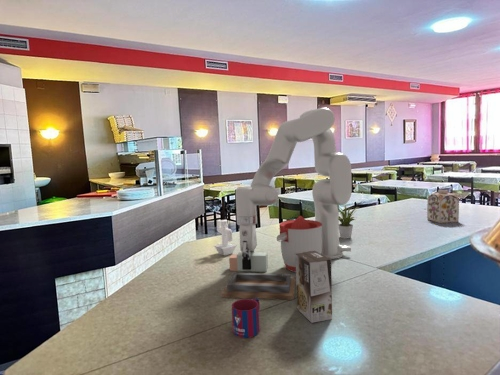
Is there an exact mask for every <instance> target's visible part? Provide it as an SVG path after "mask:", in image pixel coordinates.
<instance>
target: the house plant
mask: <svg viewBox="0 0 500 375" xmlns="http://www.w3.org/2000/svg"><path fill="white" fill-rule="evenodd" d="M337 207H338V212H339V238H341V239H345V238H348V239H351V238H352V234H353V228H354V227H353V226H354V225H353V224H352V223H351V222H353V221H356V219H357V217H355V216H353V215H354V214H355V212H357V210H356V209H358V208H360V206H357V207H354V206H353V207H351V209H350V208H347V206H346V205H345V206H344V209H342V208H340V205H337ZM339 208H340V209H339ZM352 208H354V209H352ZM350 210H352V211H350Z"/></svg>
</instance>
